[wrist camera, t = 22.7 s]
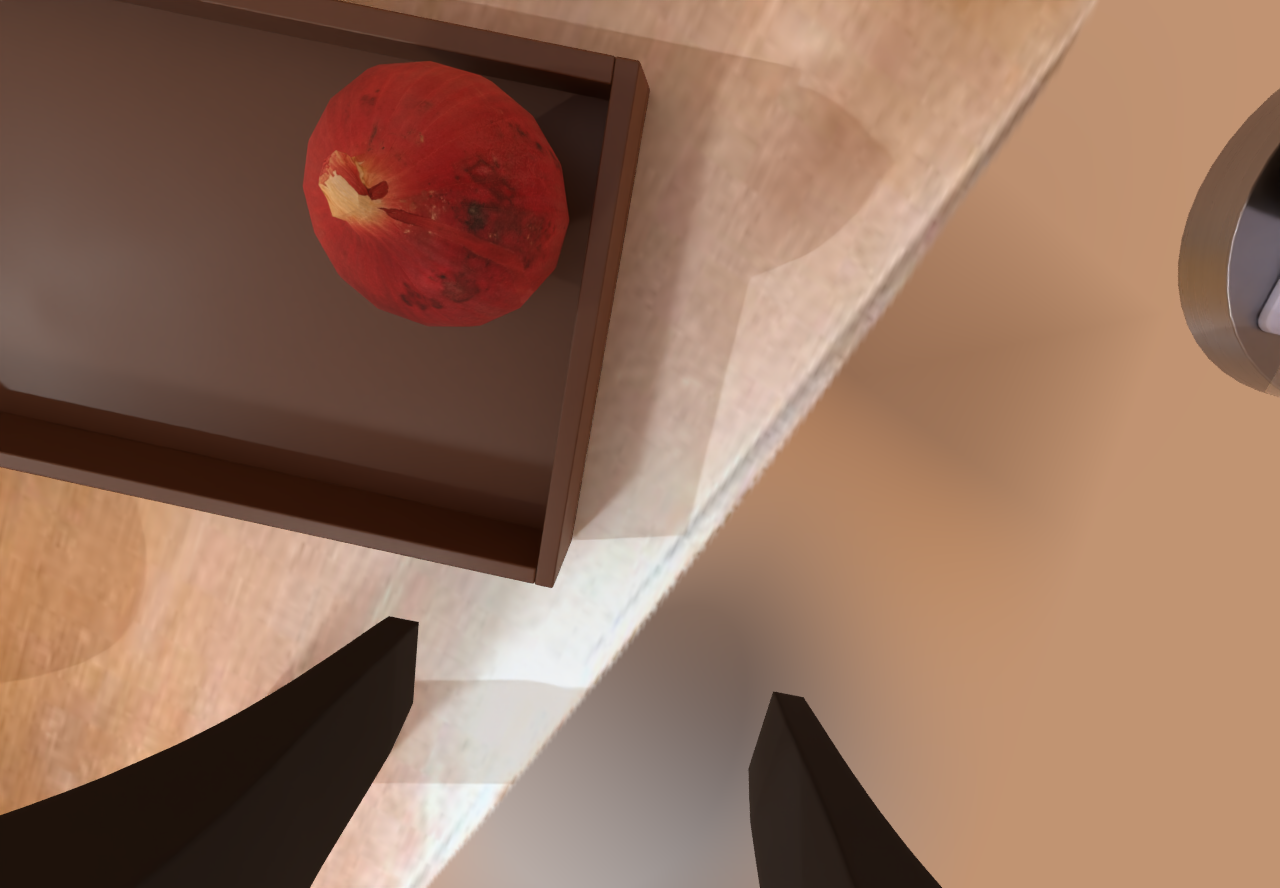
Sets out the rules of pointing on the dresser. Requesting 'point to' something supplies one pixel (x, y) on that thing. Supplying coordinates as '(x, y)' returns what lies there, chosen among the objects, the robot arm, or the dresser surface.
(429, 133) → the pomegranate
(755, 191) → the dresser surface
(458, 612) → the dresser surface
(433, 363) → the brown dish
